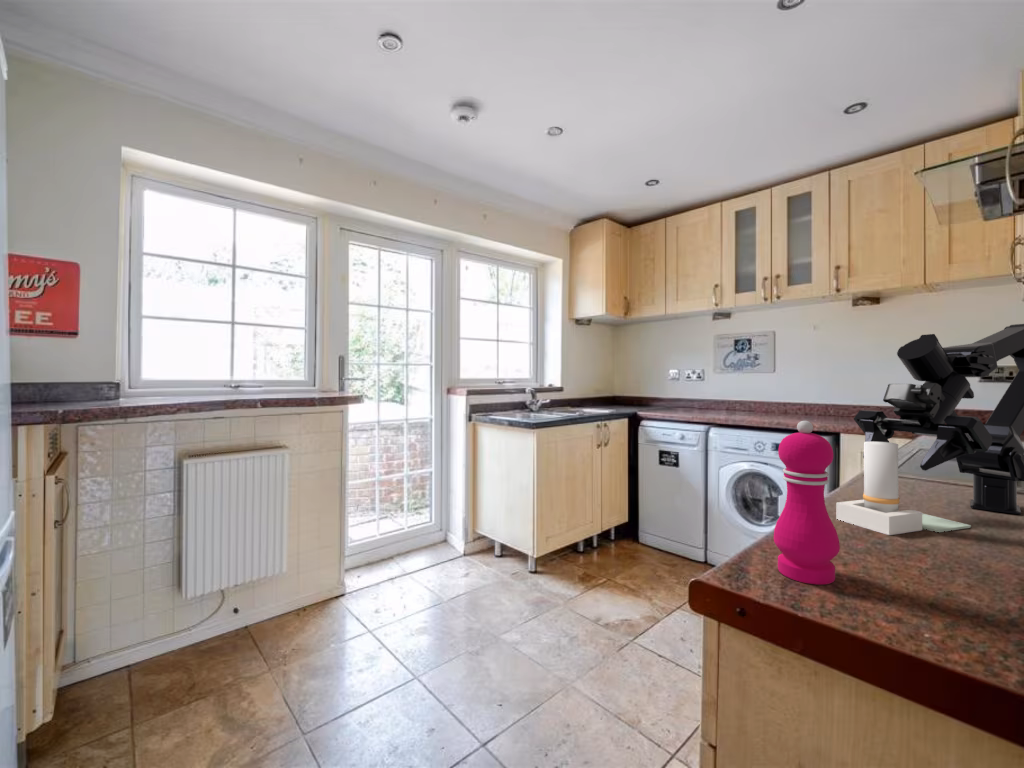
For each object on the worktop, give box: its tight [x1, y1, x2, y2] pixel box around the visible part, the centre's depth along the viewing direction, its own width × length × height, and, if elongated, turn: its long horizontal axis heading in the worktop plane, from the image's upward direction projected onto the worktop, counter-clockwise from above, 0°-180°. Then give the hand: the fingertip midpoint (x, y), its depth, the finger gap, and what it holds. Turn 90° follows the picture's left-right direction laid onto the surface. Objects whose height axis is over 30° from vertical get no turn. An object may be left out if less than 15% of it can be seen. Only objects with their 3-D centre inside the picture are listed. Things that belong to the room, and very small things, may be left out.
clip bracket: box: [835, 498, 923, 536], centre depth 79 cm, size 8×9×3 cm
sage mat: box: [922, 512, 972, 533], centre depth 79 cm, size 8×8×1 cm
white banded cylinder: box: [862, 441, 901, 513], centre depth 79 cm, size 5×5×14 cm
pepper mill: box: [773, 420, 841, 586], centre depth 59 cm, size 7×7×20 cm
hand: (892, 463), depth 80 cm, fingers open, 9 cm apart
